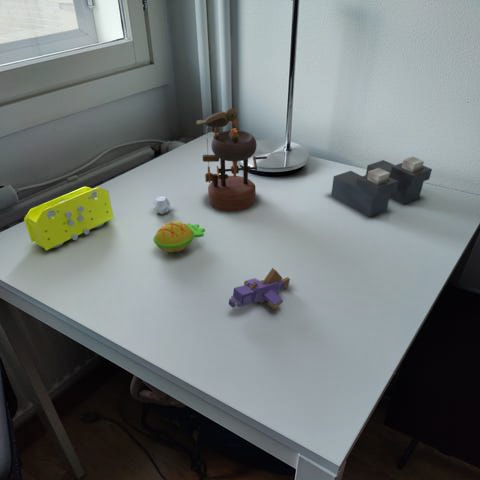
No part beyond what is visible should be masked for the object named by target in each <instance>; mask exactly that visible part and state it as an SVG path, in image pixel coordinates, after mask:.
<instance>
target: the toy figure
mask: <svg viewBox="0 0 480 480" xmlns="http://www.w3.org/2000/svg"><path fill="white" fill-rule="evenodd" d="M290 280H291V278H289V276H288V277H287V276H286V277H285V278H283V277H282V276H281V274H280V273H279V272H278V271H277V270H276V269H275V268H274V267H272V268H271V269H270V271H269V272H268V273H267V275H266V276H265V278H264V279H262V280H259V279H257V278H255V277H254V278H250V279H247V280H244V281H243V283H244V284H243V285H241V286H236V287H233V293H232V296H230V297H231V298H229V299H228V305H229V306H230V307H231V308H232V309H233V308H236V307H238V308H243V307H245V306H248V305H250V304H253V303H260V304H263V302H264V301H266V302H267V305H268V306H269V307H270V308H271V309H273V310H276V309H277V308H278V307H279V306H280V305H281V304H282V303H283V302H284V300H283V299H282V298H281V296H279V295H278V294H280V292H281V291H282V290H284V289H288V288H289V285H290Z"/></svg>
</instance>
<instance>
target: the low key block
mask: <svg viewBox="0 0 480 480" xmlns="http://www.w3.org/2000/svg"><path fill="white" fill-rule="evenodd" d="M402 164H403V162H401V163H398V164H394V163H392V162H389V161H387V160H384V159H382V160H379V161H376V162H373V163H370V164H367V166H366V171H365V175H368V171H371V170H374V169H377V168H380V169H382V170H385V171H387V172H389V173H390V174H389V177H391V178H393V179H395V180H397V181H398V185H397V189H396V192H393V193H391V194H390V198H389V199H392V200H394V201H396V202H398V203H400V204H402V205H405V204H408V203H411V202H413V201H416V200H418V199H420V197H421V193H422V189H423V187H424V182H426V181H428V180H430V178H431V174H432V171H433V169H432V168H430V167H428V166H425V165H423V167H422V170H419V171H416V172H413V173H412V172H410V171H408V170H406V169H403V168H402Z"/></svg>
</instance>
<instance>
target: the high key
mask: <svg viewBox="0 0 480 480" xmlns="http://www.w3.org/2000/svg"><path fill="white" fill-rule="evenodd" d="M389 174H390V173H389V172H387V171H385V170H382V169H380V168H377V169H374V170H371V171H368V177H367V180H369V181H371V182H373V183H375V184H377V185H379V184H382V183H385V182H387V181H388V178H389Z"/></svg>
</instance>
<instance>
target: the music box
mask: <svg viewBox="0 0 480 480" xmlns="http://www.w3.org/2000/svg"><path fill="white" fill-rule="evenodd" d="M237 117H238V112H237V110H236V109H235V108H233V107H229V108H227V109H226V111H218V112H216V113H213V114H211V115H210V116H208V117H207V118H205V119H197V120H196V124H195V126H201V125H205V126H206V129H205V132H206V134H208V128H209V127H210V128H213V129H214V130H213V133H214V135H213V137H212V140H211V145H210V146H211V147H210V148H211V151H212V153H213V154H203V155H202V162H205V163H207V172H206V173H205V174H204V180H205V183H209V184H208V187H207V193H208V194H207V195H208V203H209V205H210V206H211V207H212V208H214V209H215V210H218V211H223V212H240V211H245V210H247V209H249V208H251V207H253V205H254V204H255V203H256V193H257V191H256V189H257V188H256V184H255V183H254V182H253V181H251V179H249V172H251V170H254V171H258V165H257V160H267V159H268V157H267V156H265V155H263V156H255V155H254V154H255V152H256V151H257V145H258V144H257V140H256V138H255V137H254V136H253V134H252V133H250V132H247V131H244V130H238V129H237V127H238V124H237V123H238V122H237ZM229 122H231V123H232V124H233V125H234V126H235V127H236V128H233V127H232V128H230V129H231V130H226V131H221V132H218V128H224V127H226V126H228V124H229ZM206 147H207V148H206V150H207V152H209V141H208V139H206ZM251 157H252V161H253V166H250V165H249V159H250V158H251ZM241 161H243V163H242V166H243V167H239V165H238V162H241ZM210 162H211V163H212V162H213V163H215V162H216V163H218V162H220V164H219V165H220V167H219V166H218V165H217V166H216V173H212V172H211V169H210V168H211V167H210ZM226 162H231V163H232V165H231V166H230V168H226ZM240 171H243V172H242V173H243V174H242V175H243V176H241V175H237V174H239V173H240ZM226 172H231V174H232V175H229V174H228V173H226Z"/></svg>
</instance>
